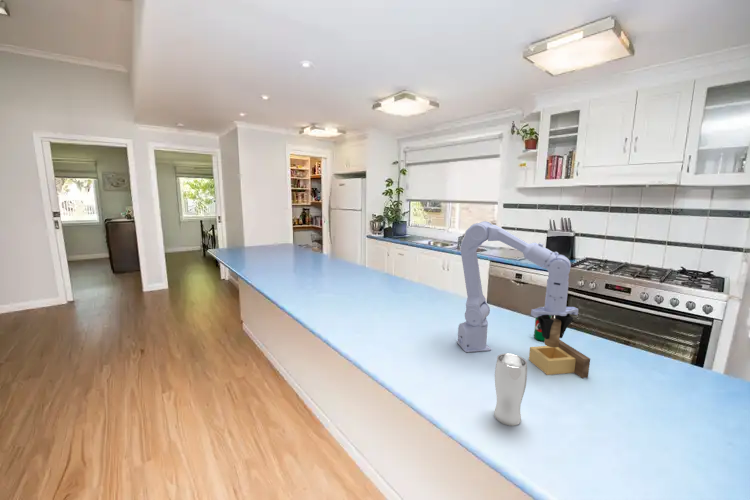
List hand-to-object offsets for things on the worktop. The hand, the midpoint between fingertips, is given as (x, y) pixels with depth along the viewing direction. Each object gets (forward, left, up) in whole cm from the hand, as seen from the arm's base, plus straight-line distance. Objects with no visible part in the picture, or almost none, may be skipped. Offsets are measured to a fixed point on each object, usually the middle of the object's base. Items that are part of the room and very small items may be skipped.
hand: (552, 337), depth 101 cm
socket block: (0, 0, -9) cm, 9 cm away
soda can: (+10, +18, -10) cm, 22 cm away
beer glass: (-26, -20, -10) cm, 35 cm away
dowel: (0, 0, -2) cm, 2 cm away
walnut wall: (+6, 0, -9) cm, 11 cm away
